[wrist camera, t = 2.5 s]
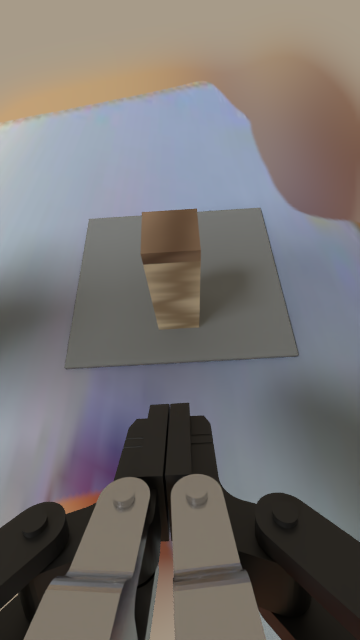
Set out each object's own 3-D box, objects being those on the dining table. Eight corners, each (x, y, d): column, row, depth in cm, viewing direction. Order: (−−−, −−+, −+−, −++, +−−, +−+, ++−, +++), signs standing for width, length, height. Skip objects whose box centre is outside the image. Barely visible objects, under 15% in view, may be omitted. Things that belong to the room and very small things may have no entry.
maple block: (158, 329, 31) (140, 253, 21) (158, 296, 34) (142, 212, 23) (199, 327, 31) (200, 250, 21) (196, 293, 33) (196, 208, 23)
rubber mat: (65, 369, 30) (64, 367, 30) (90, 221, 41) (89, 219, 41) (297, 356, 30) (298, 354, 29) (259, 210, 40) (260, 207, 40)
